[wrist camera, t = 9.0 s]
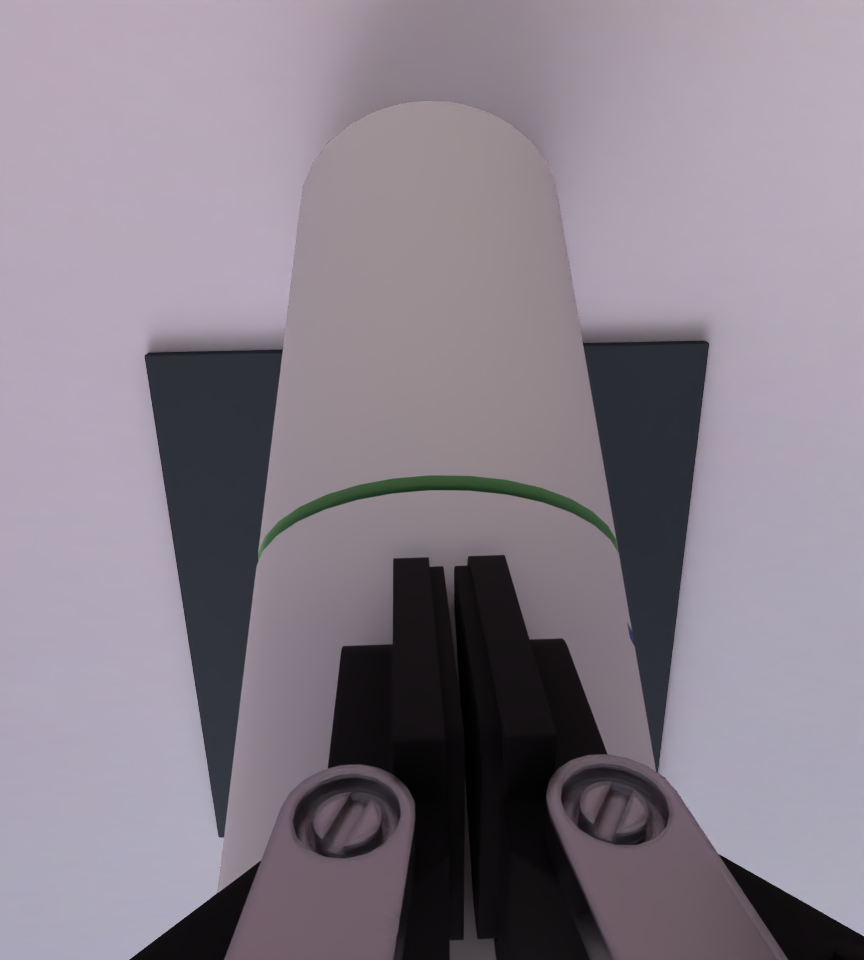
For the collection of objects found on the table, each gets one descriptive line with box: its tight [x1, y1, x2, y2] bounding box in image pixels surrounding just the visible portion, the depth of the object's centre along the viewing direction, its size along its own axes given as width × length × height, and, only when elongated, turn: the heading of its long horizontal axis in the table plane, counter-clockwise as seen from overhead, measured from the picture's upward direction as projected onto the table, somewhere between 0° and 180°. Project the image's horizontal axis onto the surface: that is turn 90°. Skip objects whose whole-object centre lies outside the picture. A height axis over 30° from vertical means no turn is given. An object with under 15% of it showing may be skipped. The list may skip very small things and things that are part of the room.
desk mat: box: [145, 341, 709, 837], centre depth 28 cm, size 18×20×1 cm
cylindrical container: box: [217, 101, 656, 960], centre depth 14 cm, size 7×7×25 cm
